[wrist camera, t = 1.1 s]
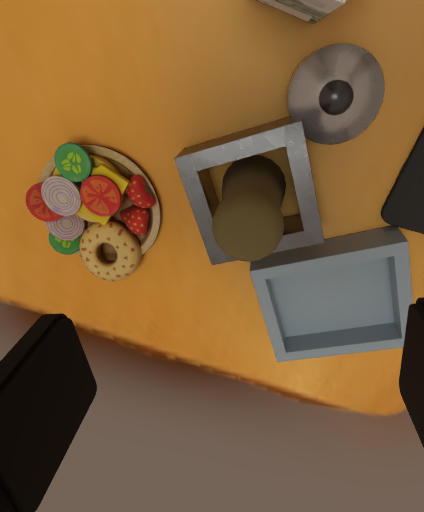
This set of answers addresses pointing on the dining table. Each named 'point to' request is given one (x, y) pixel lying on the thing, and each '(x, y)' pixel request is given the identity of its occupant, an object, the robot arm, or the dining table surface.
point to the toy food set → (97, 208)
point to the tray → (336, 295)
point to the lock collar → (292, 138)
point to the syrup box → (306, 8)
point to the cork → (250, 209)
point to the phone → (408, 193)
